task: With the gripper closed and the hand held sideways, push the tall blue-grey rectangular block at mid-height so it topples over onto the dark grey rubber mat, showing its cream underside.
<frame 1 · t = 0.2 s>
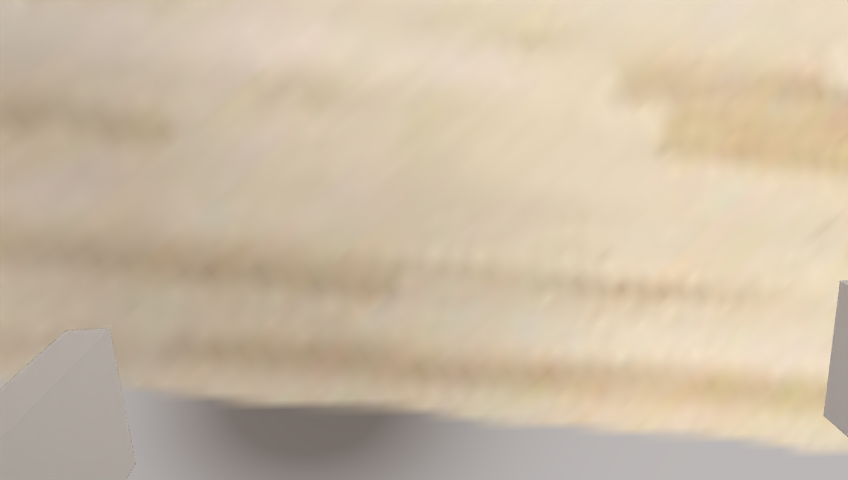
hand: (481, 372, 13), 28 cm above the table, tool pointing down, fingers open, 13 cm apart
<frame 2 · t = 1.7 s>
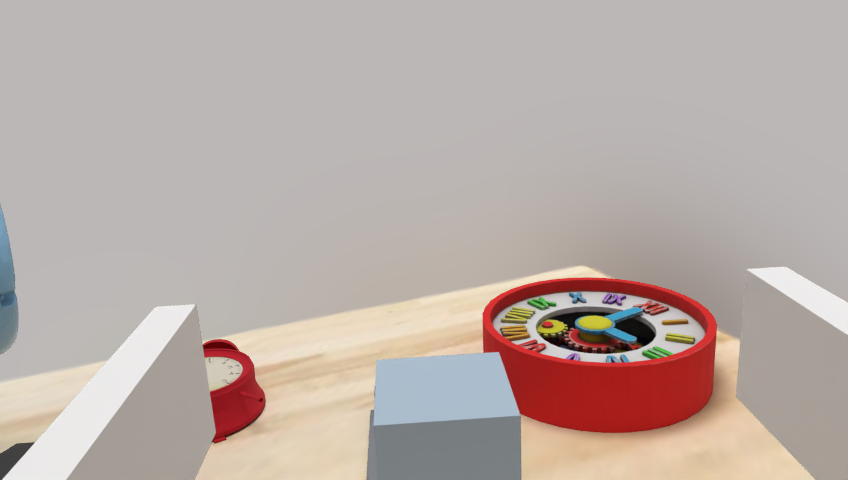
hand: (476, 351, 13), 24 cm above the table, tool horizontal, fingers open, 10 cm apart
toy clock: (594, 377, 63), on the table
alarm clock: (200, 408, 61), on the table
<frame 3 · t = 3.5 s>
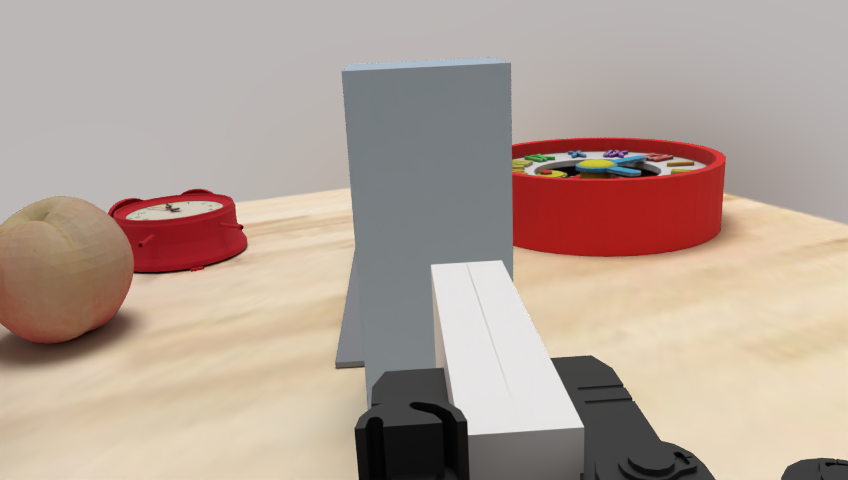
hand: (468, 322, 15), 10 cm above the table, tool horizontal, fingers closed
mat: (424, 292, 45), on the table
fruit: (72, 335, 42), on the table
toy clock: (595, 225, 60), on the table
blue-grey rectangular block: (438, 401, 32), on the table
alarm clock: (178, 252, 58), on the table
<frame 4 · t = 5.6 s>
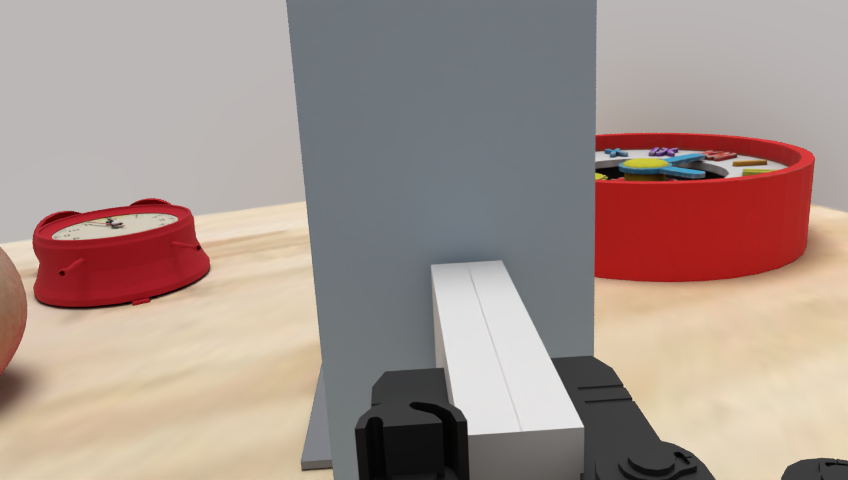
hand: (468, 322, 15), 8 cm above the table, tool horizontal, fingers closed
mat: (432, 338, 33), on the table
toy clock: (642, 239, 49), on the table
alarm clock: (123, 278, 46), on the table
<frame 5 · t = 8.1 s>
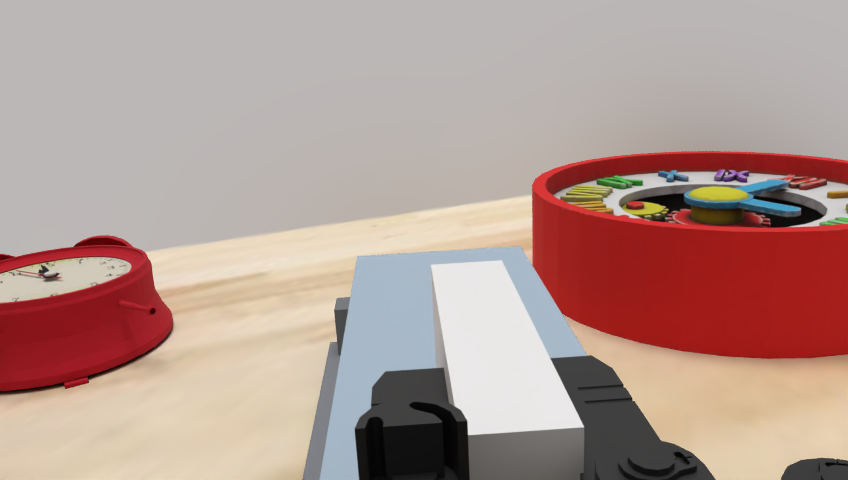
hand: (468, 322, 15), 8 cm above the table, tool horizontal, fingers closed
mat: (454, 464, 23), on the table
toy clock: (712, 287, 39), on the table
alarm clock: (63, 340, 37), on the table
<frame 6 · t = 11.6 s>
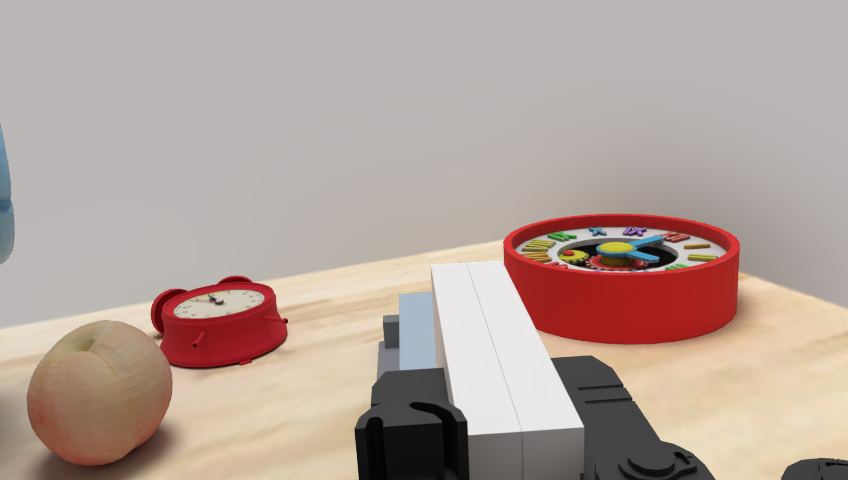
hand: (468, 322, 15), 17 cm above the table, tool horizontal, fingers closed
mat: (450, 399, 47), on the table
fruit: (114, 453, 43), on the table
toy clock: (616, 304, 63), on the table
blue-grey rectangular block: (463, 443, 35), point 3 cm above the table, tilted 90°, touching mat
alarm clock: (220, 340, 61), on the table
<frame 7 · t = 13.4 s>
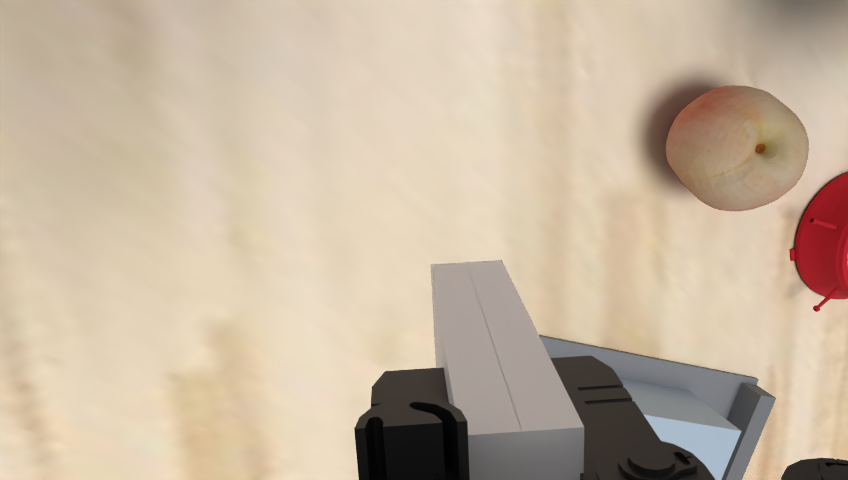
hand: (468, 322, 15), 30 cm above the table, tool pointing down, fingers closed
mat: (631, 416, 54), on the table
fruit: (694, 140, 49), on the table
blue-grey rectangular block: (523, 418, 47), point 3 cm above the table, tilted 90°, touching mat
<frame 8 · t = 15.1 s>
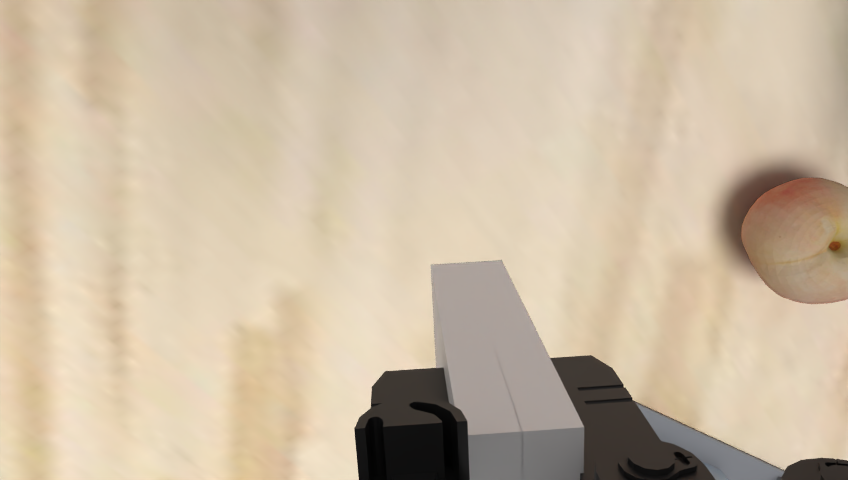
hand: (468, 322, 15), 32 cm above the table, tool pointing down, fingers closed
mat: (655, 478, 54), on the table
fruit: (776, 223, 49), on the table
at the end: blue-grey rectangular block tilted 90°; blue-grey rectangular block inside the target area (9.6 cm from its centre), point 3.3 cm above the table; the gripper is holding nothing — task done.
